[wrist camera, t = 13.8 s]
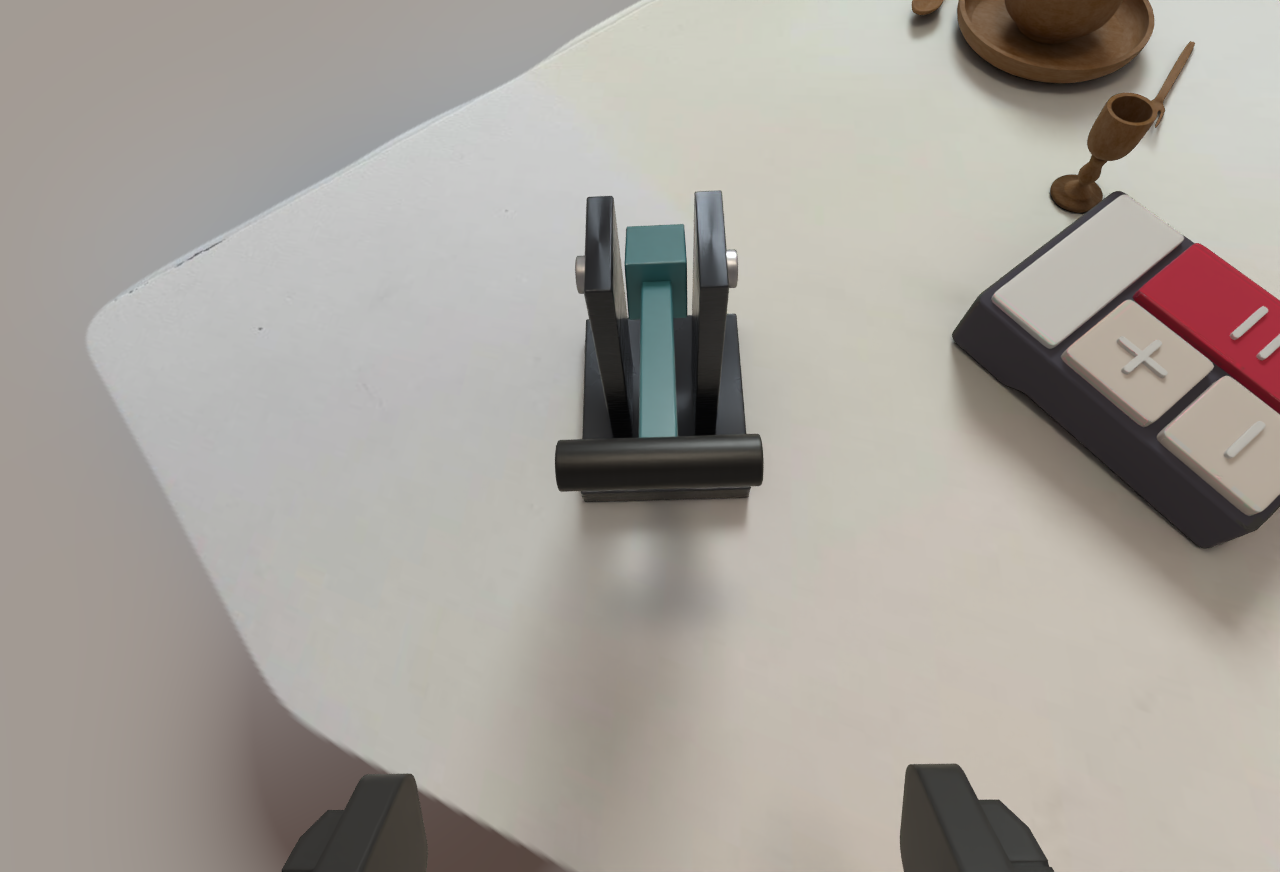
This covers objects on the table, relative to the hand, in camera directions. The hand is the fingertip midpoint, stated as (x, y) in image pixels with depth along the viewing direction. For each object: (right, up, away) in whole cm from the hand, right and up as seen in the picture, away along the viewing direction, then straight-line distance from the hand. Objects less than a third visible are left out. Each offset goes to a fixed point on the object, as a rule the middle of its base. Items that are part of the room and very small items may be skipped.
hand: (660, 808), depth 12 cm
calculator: (+25, +9, +25) cm, 36 cm away
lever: (0, +8, +13) cm, 15 cm away
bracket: (+1, +7, +25) cm, 26 cm away
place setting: (+24, +30, +35) cm, 52 cm away
